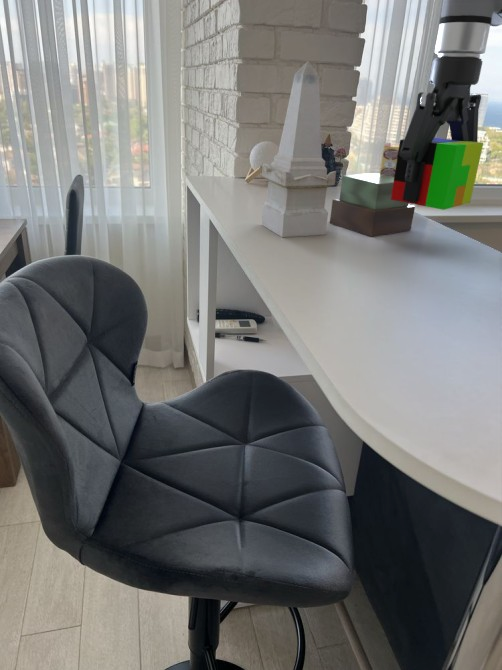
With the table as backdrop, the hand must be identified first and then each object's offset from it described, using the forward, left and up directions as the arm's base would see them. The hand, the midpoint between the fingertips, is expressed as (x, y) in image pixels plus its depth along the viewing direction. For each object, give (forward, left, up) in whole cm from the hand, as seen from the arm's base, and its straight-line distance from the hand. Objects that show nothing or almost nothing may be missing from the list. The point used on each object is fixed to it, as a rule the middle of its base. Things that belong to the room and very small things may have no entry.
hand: (431, 198), depth 89 cm
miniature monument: (+21, +13, -10) cm, 27 cm away
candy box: (+24, -17, -10) cm, 31 cm away
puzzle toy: (0, 0, -1) cm, 1 cm away
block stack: (+16, -4, -9) cm, 19 cm away
